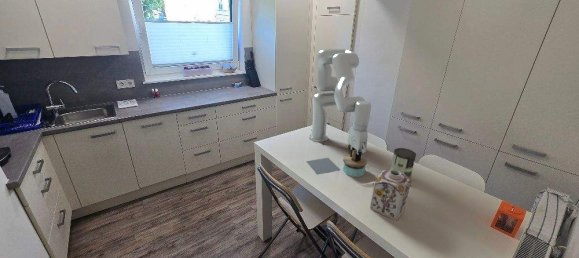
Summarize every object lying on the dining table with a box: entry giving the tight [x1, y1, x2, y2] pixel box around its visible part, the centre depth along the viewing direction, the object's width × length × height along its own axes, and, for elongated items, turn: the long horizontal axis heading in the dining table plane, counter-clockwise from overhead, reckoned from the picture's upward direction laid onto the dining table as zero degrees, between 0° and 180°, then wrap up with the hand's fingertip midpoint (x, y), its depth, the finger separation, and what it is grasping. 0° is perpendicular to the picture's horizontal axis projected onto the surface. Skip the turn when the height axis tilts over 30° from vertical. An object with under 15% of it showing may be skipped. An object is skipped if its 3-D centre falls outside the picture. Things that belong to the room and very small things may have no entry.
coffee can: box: [390, 147, 417, 180], centre depth 128 cm, size 10×10×14 cm
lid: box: [342, 150, 368, 168], centre depth 130 cm, size 12×12×6 cm
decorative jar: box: [369, 169, 412, 222], centre depth 104 cm, size 12×12×18 cm
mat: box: [306, 157, 341, 175], centre depth 138 cm, size 14×14×1 cm
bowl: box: [342, 162, 367, 178], centre depth 132 cm, size 11×11×5 cm
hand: (355, 158), depth 130 cm, fingers closed on lid, 3 cm apart
